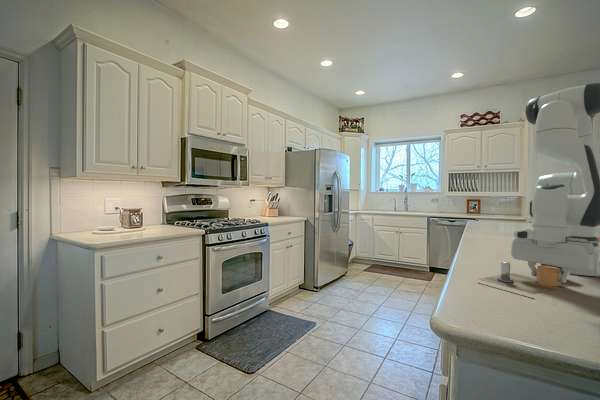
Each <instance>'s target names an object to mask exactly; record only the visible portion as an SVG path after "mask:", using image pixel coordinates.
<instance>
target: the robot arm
mask: <svg viewBox="0 0 600 400" xmlns="http://www.w3.org/2000/svg"><path fill="white" fill-rule="evenodd" d="M524 112H525V113H524V115H525V117H526V120H527V122H528V123H530V124H531V125H534V137H533V139H534V140H533V141H534V149H535V151H536V152H537V153H538V155H541V156H542V157H544V158H545V159H548V160H551V161H555V162H559V163H562V164H565V165H569V166H571V167H572V168H573V169H574V170H575V171H573V172H556V173H555V172H554V173H549V174H544V175H540V177H539V178H538V179H537V180H536V182H535V185H534V191H533V196H532V199H531V200H530V201H529V216H530V217H532V222H531V228H527V229H522V230H517V231H514V232H513V236H514V238H513V240H512V242H511V250H510V254H511V257H512V258H513V259H514V260H518V261H524V262H527V266H528V267H529V269H530V271H531V277H534V278H536V277H537V269H538V268H537V267H536V266H537V264H539V265H541V264H545V265H551V266H556V267H562V271H565V272H564V273H563V274H562V275H560V276H558V282H561V283H562V284H565V283H567V277H568V276H570V275H571V274H572V275H577V276H578V275H579V276H586V277H587V276H590V277H600V248H599V243H600V237H599V236H596V229H597V228H596V227H599V226H600V159H599V157H598V155H597V152H596V149H595V142H594V141H595V140H594V129H593V123H592V120H591V119H592V118H595V115H597V114H600V82H591V83H587V84H585V85H579V86H578V85H577V86H573V87H572V86H571V87H567V88H562V89H561V90H558V91H554V92H551V93H548V94H545V95H542V96H541V95H538V96H537V97H534V98H532V99H530V100H529V101H528V102H527V103H526V105H525V111H524Z"/></svg>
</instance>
